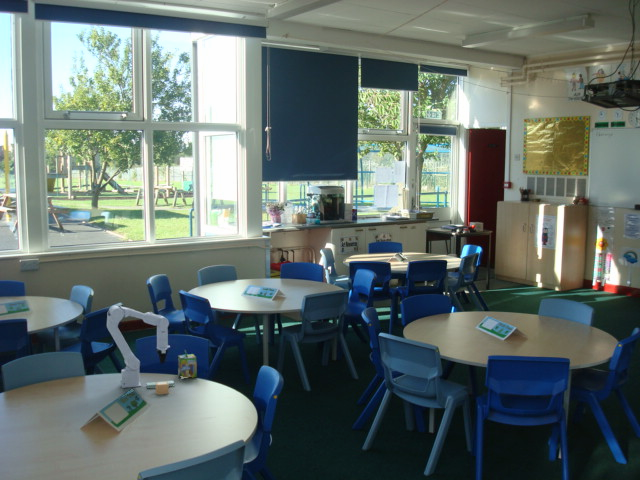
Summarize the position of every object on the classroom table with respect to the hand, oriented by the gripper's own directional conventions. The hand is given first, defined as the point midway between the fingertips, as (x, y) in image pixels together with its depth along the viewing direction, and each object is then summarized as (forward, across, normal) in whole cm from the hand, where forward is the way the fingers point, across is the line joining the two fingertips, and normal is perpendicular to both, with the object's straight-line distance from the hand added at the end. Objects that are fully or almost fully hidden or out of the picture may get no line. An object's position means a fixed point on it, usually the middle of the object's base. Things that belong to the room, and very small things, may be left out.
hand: (162, 363), depth 347 cm
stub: (+10, -20, +2) cm, 23 cm away
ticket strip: (+10, -9, +2) cm, 14 cm away
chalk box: (+10, +5, -14) cm, 18 cm away
